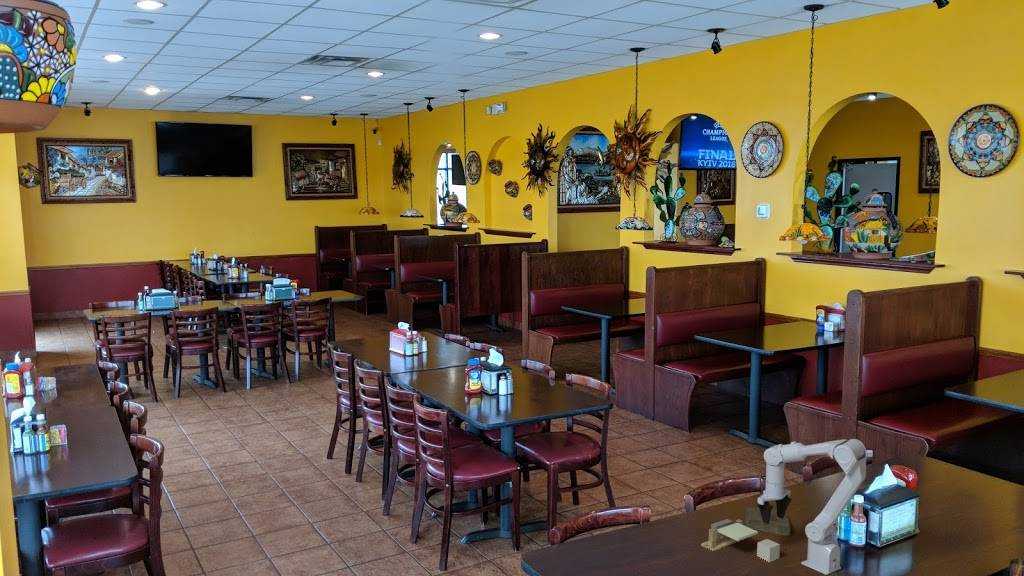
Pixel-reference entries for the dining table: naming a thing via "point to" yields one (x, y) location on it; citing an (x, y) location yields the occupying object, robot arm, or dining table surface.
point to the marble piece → (774, 525)
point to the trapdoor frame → (719, 538)
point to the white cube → (768, 550)
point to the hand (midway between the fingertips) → (773, 520)
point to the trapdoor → (734, 530)
